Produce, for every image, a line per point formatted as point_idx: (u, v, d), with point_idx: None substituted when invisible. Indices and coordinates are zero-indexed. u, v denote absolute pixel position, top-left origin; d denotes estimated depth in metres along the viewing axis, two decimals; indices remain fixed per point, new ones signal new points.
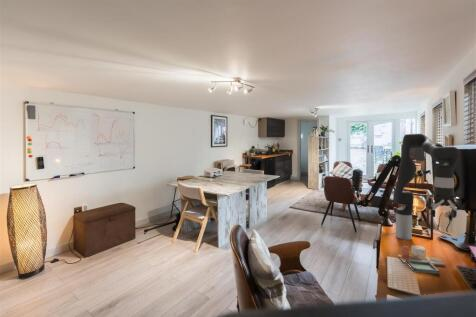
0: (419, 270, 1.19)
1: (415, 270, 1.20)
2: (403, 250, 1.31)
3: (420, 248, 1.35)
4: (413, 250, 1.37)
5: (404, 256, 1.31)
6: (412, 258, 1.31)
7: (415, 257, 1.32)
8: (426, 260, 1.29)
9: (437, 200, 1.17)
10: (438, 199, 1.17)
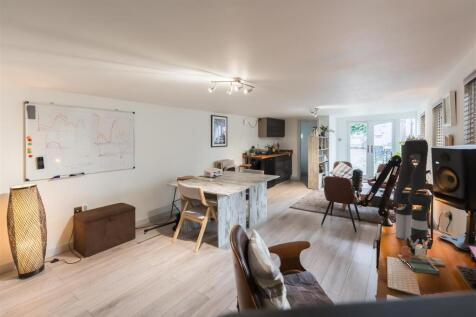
0: (419, 270, 1.19)
1: (415, 270, 1.20)
2: (403, 250, 1.31)
3: (420, 248, 1.34)
4: None
5: (404, 256, 1.31)
6: (412, 258, 1.31)
7: (415, 257, 1.32)
8: (426, 260, 1.29)
9: (413, 240, 1.36)
10: (414, 239, 1.35)
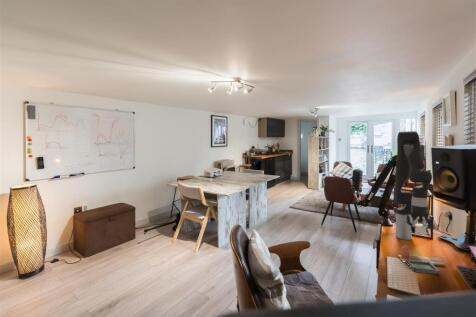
0: (419, 270, 1.19)
1: (415, 270, 1.20)
2: (403, 250, 1.31)
3: (421, 226, 1.34)
4: None
5: (404, 256, 1.31)
6: (412, 258, 1.31)
7: (415, 257, 1.32)
8: (426, 260, 1.29)
9: (414, 217, 1.35)
10: (414, 216, 1.35)
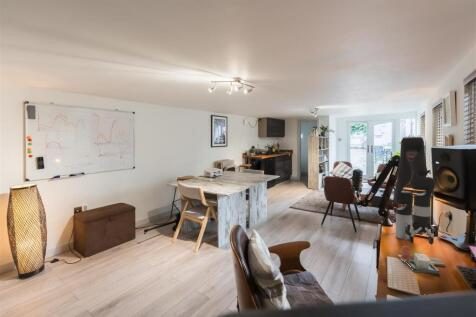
0: (419, 270, 1.19)
1: (415, 270, 1.20)
2: (403, 250, 1.31)
3: (424, 259, 1.21)
4: (415, 259, 1.24)
5: (404, 256, 1.31)
6: (412, 258, 1.31)
7: None
8: None
9: (415, 227, 1.23)
10: (416, 226, 1.23)
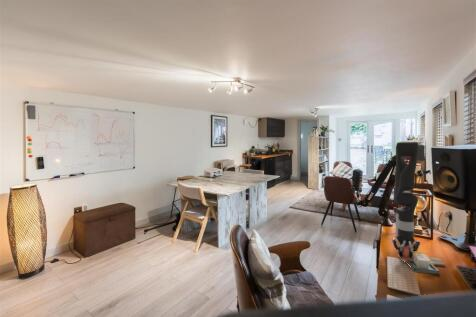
0: (419, 270, 1.19)
1: (415, 270, 1.20)
2: (403, 250, 1.31)
3: (424, 259, 1.21)
4: (415, 259, 1.24)
5: (404, 256, 1.31)
6: (412, 258, 1.31)
7: None
8: None
9: (400, 242, 1.31)
10: (400, 241, 1.31)
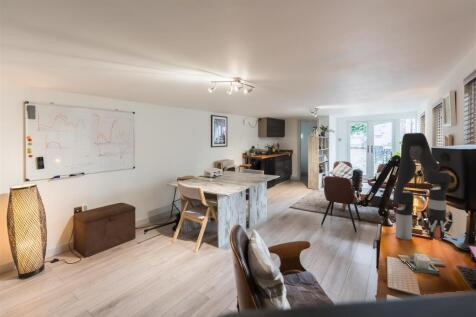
0: (419, 270, 1.19)
1: (415, 270, 1.20)
2: (434, 230, 1.27)
3: (424, 259, 1.21)
4: (415, 259, 1.24)
5: (435, 236, 1.26)
6: (412, 258, 1.31)
7: None
8: None
9: (431, 222, 1.27)
10: (431, 221, 1.27)
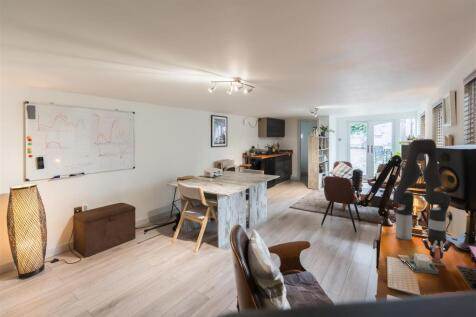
0: (419, 270, 1.19)
1: (415, 270, 1.20)
2: None
3: (424, 259, 1.21)
4: (415, 259, 1.24)
5: (435, 258, 1.27)
6: (412, 258, 1.31)
7: None
8: None
9: (431, 242, 1.27)
10: (432, 241, 1.27)
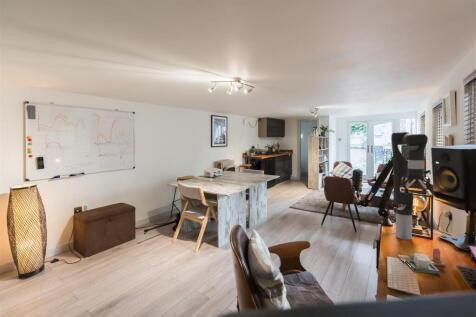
0: (419, 270, 1.19)
1: (415, 270, 1.20)
2: (434, 252, 1.27)
3: (424, 259, 1.21)
4: (415, 259, 1.24)
5: (435, 259, 1.27)
6: (412, 258, 1.31)
7: None
8: None
9: (410, 180, 1.37)
10: (410, 179, 1.36)
